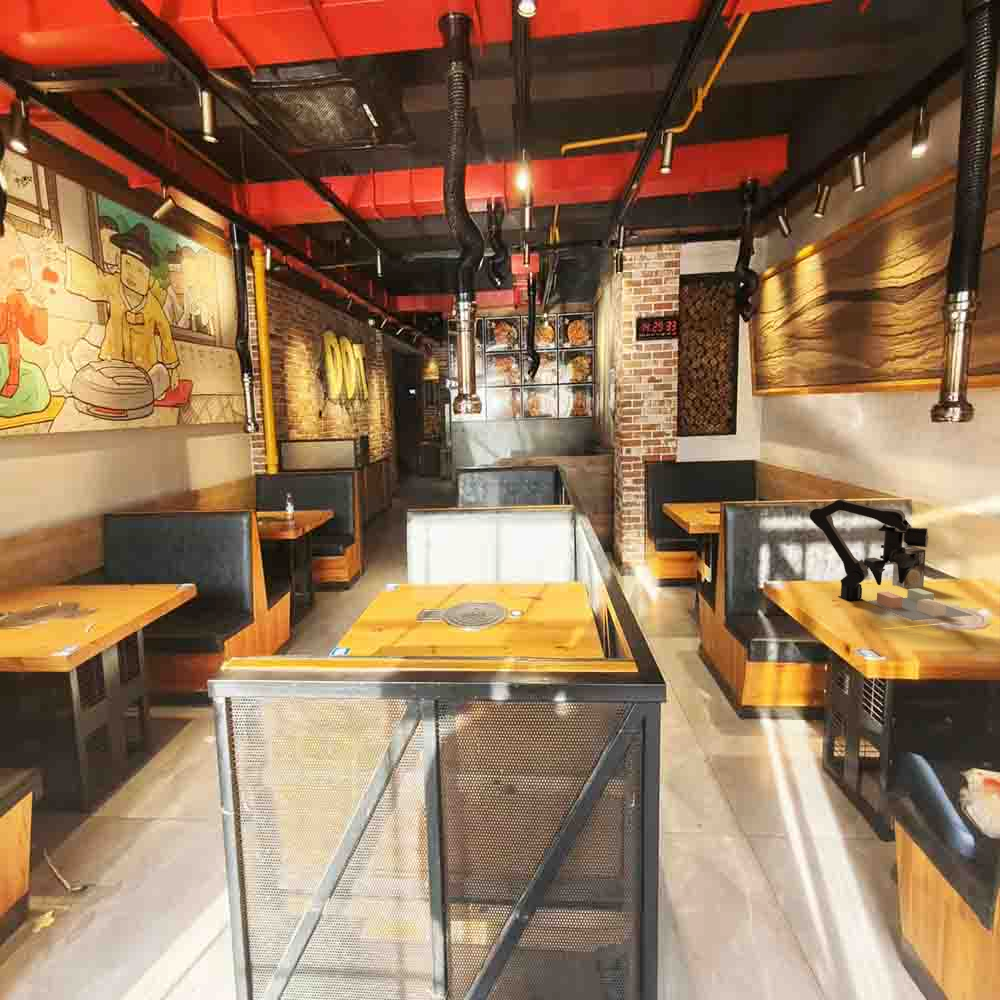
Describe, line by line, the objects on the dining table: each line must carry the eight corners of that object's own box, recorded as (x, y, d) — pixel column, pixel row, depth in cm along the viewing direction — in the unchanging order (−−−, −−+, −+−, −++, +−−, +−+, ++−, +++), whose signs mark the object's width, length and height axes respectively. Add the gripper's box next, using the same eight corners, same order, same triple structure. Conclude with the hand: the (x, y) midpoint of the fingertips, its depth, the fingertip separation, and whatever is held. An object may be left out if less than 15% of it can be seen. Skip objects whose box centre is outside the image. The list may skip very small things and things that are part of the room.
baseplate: (912, 621, 204) (913, 609, 203) (865, 602, 225) (865, 591, 224) (973, 616, 207) (974, 604, 206) (920, 597, 228) (921, 586, 228)
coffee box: (911, 583, 247) (913, 546, 244) (923, 587, 240) (926, 549, 238) (891, 584, 245) (893, 547, 243) (903, 589, 239) (906, 551, 237)
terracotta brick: (902, 607, 217) (902, 597, 216) (891, 608, 216) (891, 597, 215) (887, 601, 224) (887, 591, 223) (876, 602, 223) (877, 592, 222)
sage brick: (933, 603, 219) (934, 593, 219) (922, 604, 219) (923, 594, 218) (917, 598, 226) (918, 588, 226) (907, 599, 226) (907, 589, 225)
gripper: (887, 549, 207) (884, 592, 210) (934, 546, 210) (930, 588, 212) (864, 543, 218) (861, 583, 221) (908, 540, 221) (905, 580, 223)
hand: (890, 584), depth 219 cm, fingers open, 9 cm apart
